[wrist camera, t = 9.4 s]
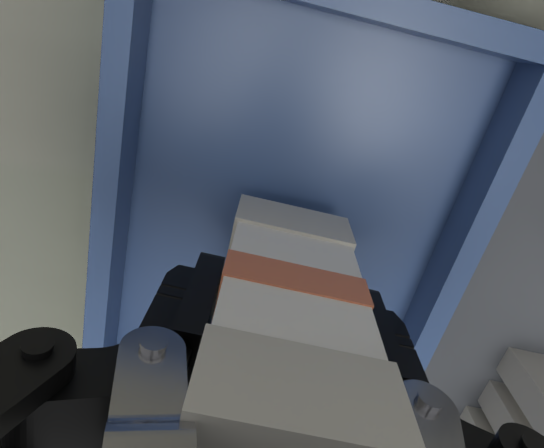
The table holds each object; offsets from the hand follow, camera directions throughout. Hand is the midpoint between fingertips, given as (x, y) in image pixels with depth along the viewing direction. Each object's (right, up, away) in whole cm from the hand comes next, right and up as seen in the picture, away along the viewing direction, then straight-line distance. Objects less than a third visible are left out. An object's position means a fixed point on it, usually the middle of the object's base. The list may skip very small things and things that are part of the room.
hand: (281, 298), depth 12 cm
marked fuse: (0, +1, +3) cm, 3 cm away
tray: (0, +2, +5) cm, 5 cm away
